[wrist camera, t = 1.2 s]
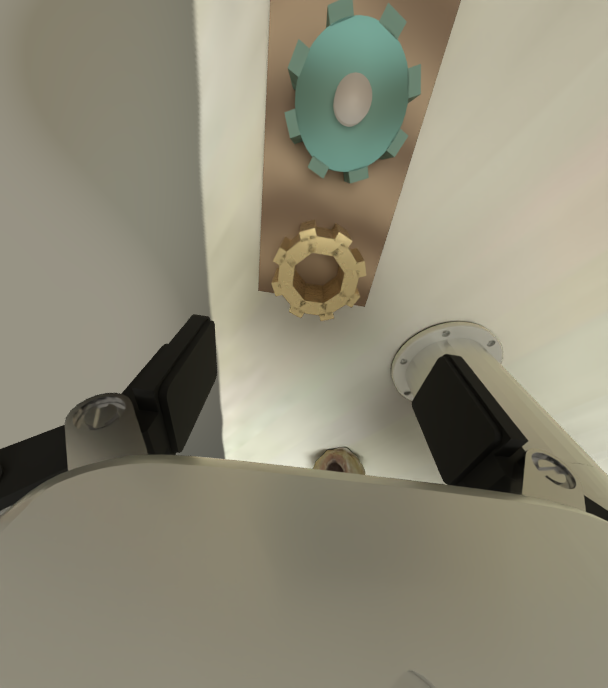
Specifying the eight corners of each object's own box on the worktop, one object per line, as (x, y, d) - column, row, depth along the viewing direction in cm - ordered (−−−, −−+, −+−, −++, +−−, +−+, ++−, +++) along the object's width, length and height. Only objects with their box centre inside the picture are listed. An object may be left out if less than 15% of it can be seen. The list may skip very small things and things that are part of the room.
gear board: (362, 300, 27) (374, 332, 22) (261, 285, 26) (247, 313, 21) (509, -184, 12) (660, -462, 7) (285, -242, 12) (260, -596, 6)
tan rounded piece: (359, 444, 46) (389, 502, 38) (328, 469, 48) (351, 528, 41) (326, 437, 40) (354, 503, 33) (293, 466, 43) (312, 533, 35)
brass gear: (347, 305, 26) (351, 325, 22) (275, 295, 25) (269, 313, 22) (367, 228, 21) (377, 238, 18) (281, 213, 21) (275, 221, 18)
